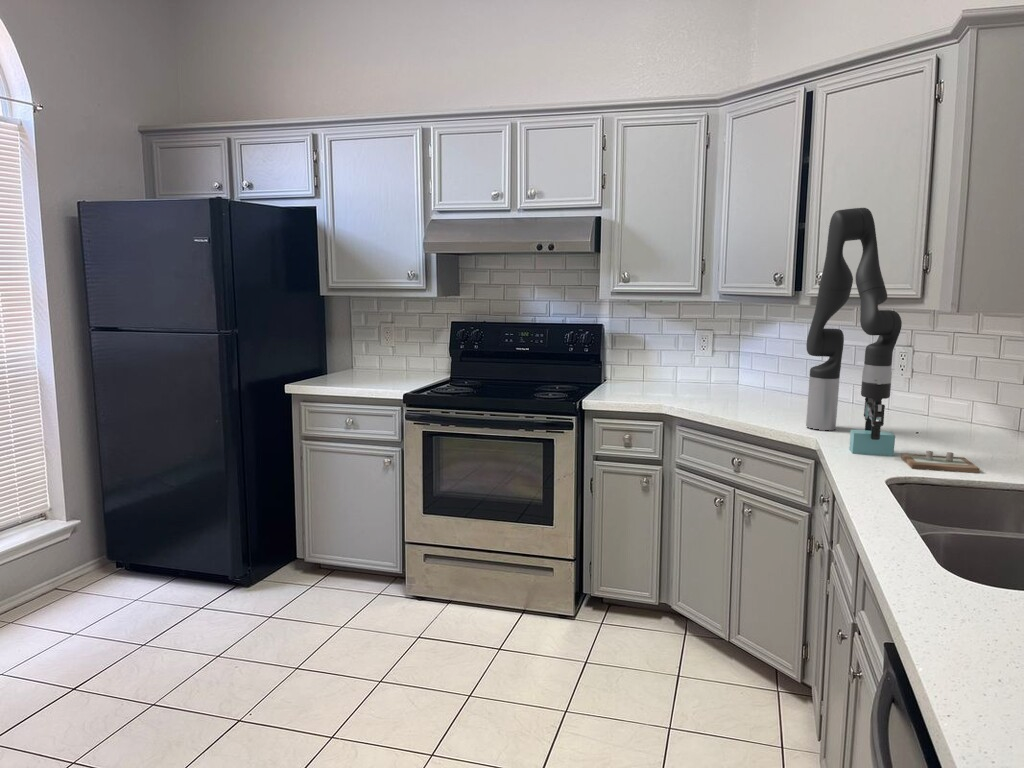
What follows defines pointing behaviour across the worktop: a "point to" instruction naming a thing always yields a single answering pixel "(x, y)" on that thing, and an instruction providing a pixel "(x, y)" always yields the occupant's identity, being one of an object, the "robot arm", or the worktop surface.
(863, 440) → the block
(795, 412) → the worktop surface
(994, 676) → the worktop surface
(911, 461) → the stub base
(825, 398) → the robot arm
